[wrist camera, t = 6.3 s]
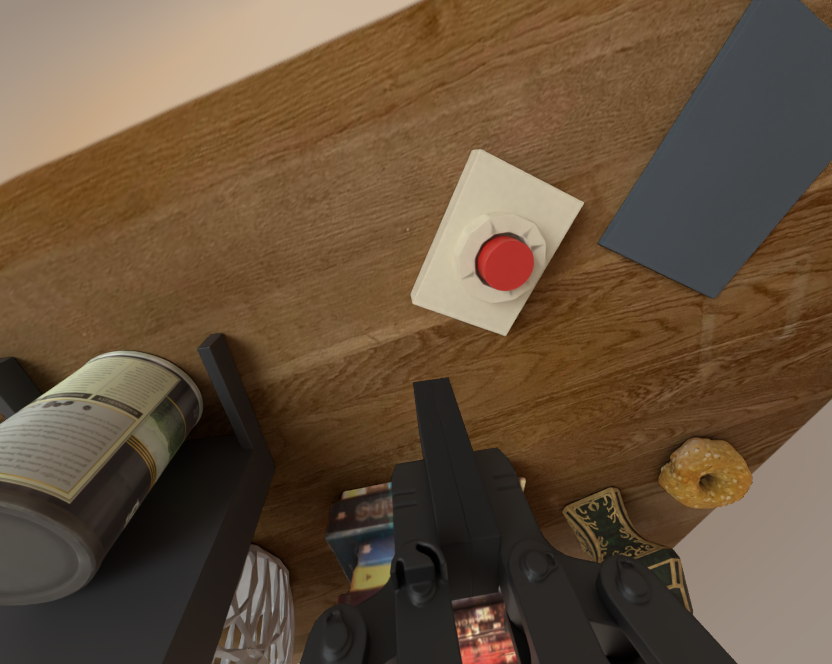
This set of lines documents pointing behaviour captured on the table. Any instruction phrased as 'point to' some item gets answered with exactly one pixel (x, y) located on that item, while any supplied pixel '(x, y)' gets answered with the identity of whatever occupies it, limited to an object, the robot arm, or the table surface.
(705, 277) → the mat
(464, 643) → the stack of books
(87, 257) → the table surface
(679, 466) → the bagel
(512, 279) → the power button
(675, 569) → the decorative box
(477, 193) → the switch block
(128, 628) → the footed upright panel
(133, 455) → the coffee can
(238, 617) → the vase
